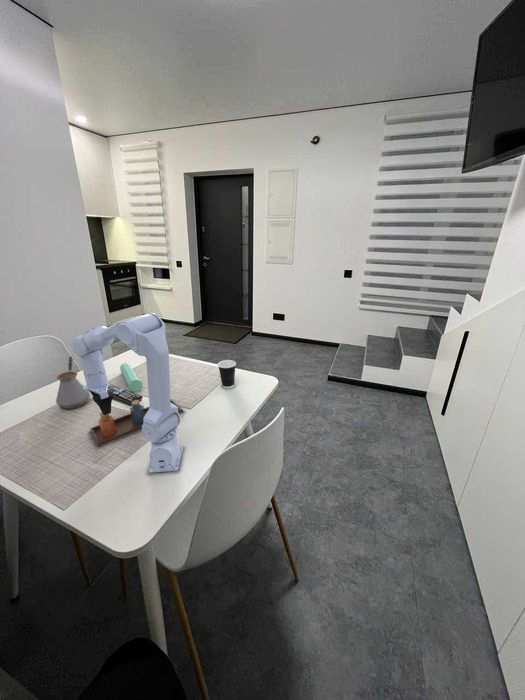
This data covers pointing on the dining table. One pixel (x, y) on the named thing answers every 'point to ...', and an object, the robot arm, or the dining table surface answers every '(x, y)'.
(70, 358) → the coffee pot
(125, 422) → the tray
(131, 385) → the container
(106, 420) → the terracotta bottle
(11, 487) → the dining table surface
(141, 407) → the blue bottle middle
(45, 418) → the dining table surface
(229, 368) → the dixie cup
